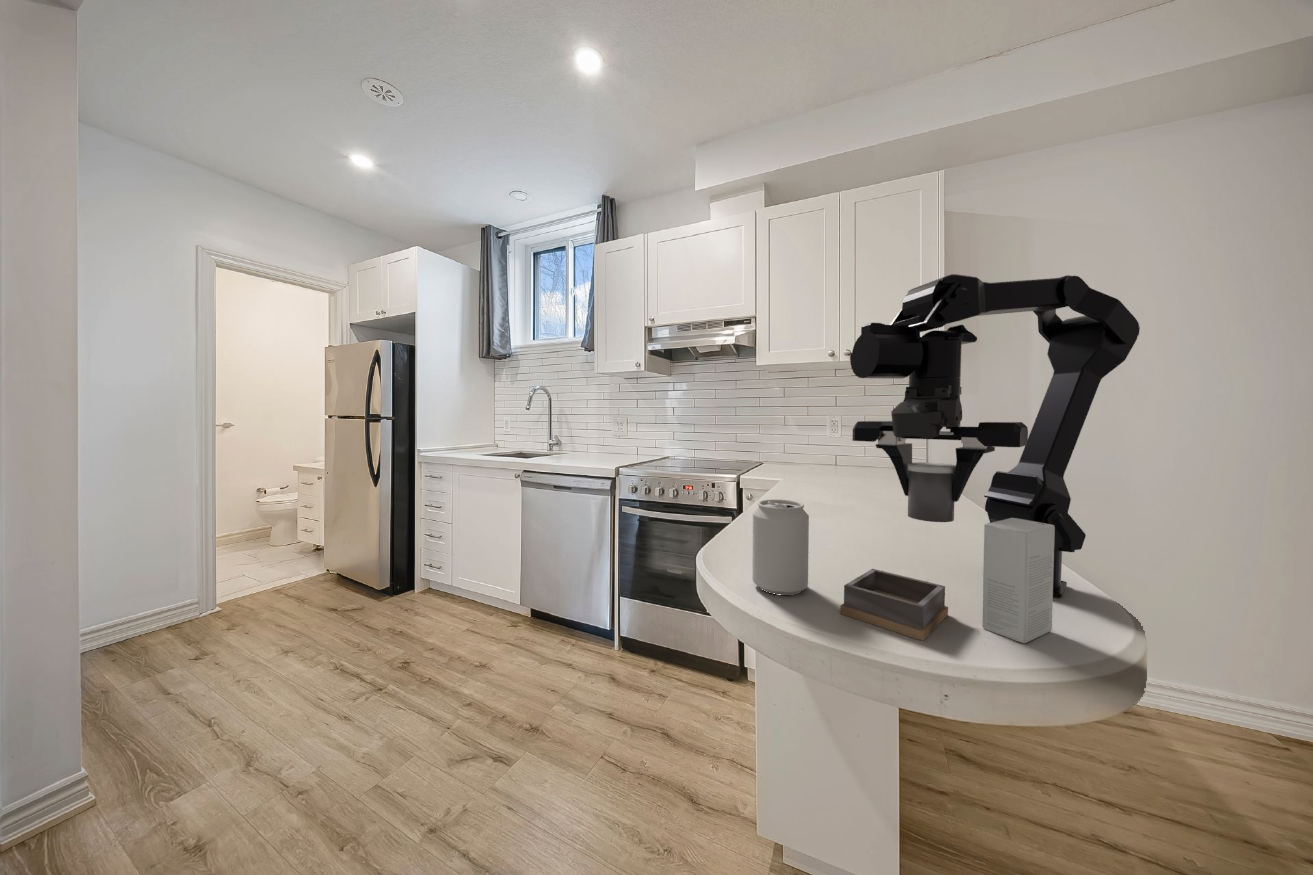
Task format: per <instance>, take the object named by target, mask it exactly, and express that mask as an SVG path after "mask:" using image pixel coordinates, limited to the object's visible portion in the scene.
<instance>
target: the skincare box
mask: <svg viewBox="0 0 1313 875" xmlns="http://www.w3.org/2000/svg"><path fill="white" fill-rule="evenodd" d="M983 528H984V531H983V532H984V534H983V538H984V539H983V567H982V568H983V569H982V570H983V571H982V572H983V573H982V574H983V575H982V578H983V580H982V621H981V625H982V628H983V629H984V630H987V631H989V632H992V633H994V634H998V635H1000V636H1002V637H1005V638H1008V639H1010V640H1013V641H1015V642H1017V641H1018V643H1020V644H1027V643H1029V642H1031V641H1032V640H1035V639H1038V638H1039V637H1041V636H1043V635H1045V634H1048V633H1050V632H1052V630H1053V609H1054V608H1053V602H1054V600H1053V599H1054V598H1053V597H1054V596H1053V568H1054V538H1055V527H1054V525H1051V524H1045V523H1040V522H1034V521H1029V520H1023V519H1017V518H1009V519H1005V520H1001V521H996V522H992V523H990V522H989V523H985V524H984V527H983Z"/></svg>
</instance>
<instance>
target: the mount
mask: <svg viewBox="0 0 1313 875" xmlns="http://www.w3.org/2000/svg"><path fill="white" fill-rule="evenodd" d="M843 587H844V588H843V603H842V604H841V605H840V606H839V607H840V608H839V611H840V612H839V614H840V615H843V616H846V617H850V618H852V619H856V620H859V621H862V622H864V623H867V624H871V625H874V626H877V627H879V628H883V629H886V630H889V631H892V632H895V633H897V634H900V635H904V636H907V637H909V638H910V637H911V638H913V639H917V640H919V641H921V642H922V641H923V642H924V641H925V640H926V639H927V638H928V636H930V635H931V634H932V632H934V630H935V629H936V628H937V627H938V626H939V625H940V624H941V623H942V622H943V621H944V620H945V619H946V618H947V617H948V616H949V606H948V605H947V606H946V605H945V602H946V585H942V584H938V583H933V582H929V581H926V580H921V579H917V578H912V577H909V576H904V575H901V574H896V573H892V572H888V571H884V570H880V569H875V568H871V569H869V570H867V571H866V572H865V573H863V574H861V575H859V576H858V577H856V578H854V579H852V580H851V581H849V582H847V583H846V584H844V585H843Z"/></svg>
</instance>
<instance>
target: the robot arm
mask: <svg viewBox="0 0 1313 875" xmlns="http://www.w3.org/2000/svg"><path fill="white" fill-rule="evenodd" d="M901 304H902V307H901V308H900V309H899V311H898V312H897V313H896V315H895V316H894V318H893V319H892V321H891V322H890V323H889V324H885V323H883V322H869V323H866V324H864V325H862V326H861V329H860V331H861V332H860V335H859V337H858V338H857V339H856V341H855V343H854V344H853V347H852V352H850V355H849V362H850V367H851V370H852V372H853V374H854V375H855V376H856V377H857V378H858V379H900V380H901V379H905V378H908V386H905V392H904V397H903V401H901V402H900V403H898V404H897V405H896V406H895V407H894V408H893V409H892V410H891V411H890V414H891V420H864V421H863V420H861V421H859V420H858V421H856V423H855V424H854V425H853V428H852V439H851V440H852V442H870V443H871V442H872V443H873V442H874V443H875V442H877V443H876V444H875V448H876V449H882V450H883V451H884V452H885V454H887V456H888V457H889V459H890V461H891V462H892V464H893V467H894V469H895V472H896V474H897V477H898V480H899V483H900V486H901V488H902V491H903V494H904V496H905V497H908V481H909V470H908V463H913V443H908V442H907V443H906V441H907V439H909V440H910V439H911V440H912V439H913V440H940V441H941V440H942V441H944V440H945V441H961V442H960V443H961V444H962V446H961V447H956V448H955V456H956V457H955V458H956V462H955V465H956V468H955V475H954V482H953V490H952V495H953V502H954V503H955V502H956V503H957V502H959V500H960V497H961V496H962V494H963V492H964V489H965V488H966V486H967V483H968V481H969V479H970V477H971V475H972V473H973V472H974V469H975V467H977V465H978V463H979V462H980V461H981V458H982V457H983V456H984V454H988V453H993V452H995V450H996V448H997V447H999V448H1022V447H1023V450H1022V454H1020V458H1019V461H1018V463H1017V465H1015V466H1014V467H1013V468H1011V469H1010V470H1009V471H1007V472H1006V471H1000V470H998V471H996V472H995V473H994V474H993V476H992V478H991V482H990V486H989V488H988V490H987V492H986V493H985V494H984V495H983V496H984V498H986V501H985V504H984V511H985V512H986V513H987V517H988V520H989V523H992V522H996V521H1001V520H1005V519H1009V518H1017V519H1023V520H1029V521H1034V522H1040V523H1045V524H1051V525H1054V527H1055V538H1054V568H1053V597H1057V598H1063V596H1064V593H1065V591H1066V589H1067V586H1068V582H1067V581H1064V580H1062V564H1063V552H1067V553H1075V552H1076V551H1079V550H1082V549H1083V546H1084V542H1085V539H1086V536H1087V535H1086V533H1085V531H1084V530H1083V529H1082V528H1081V527H1080V526H1079V524H1078V523H1077V522H1076V520H1074V519H1073V517H1072V516H1071V515H1070V514H1069V510H1070V505H1071V501H1072V498H1071V495H1070V492H1069V490H1068V487H1067V484H1066V482H1065V479H1064V477H1065V473H1066V471H1067V467H1068V466H1069V463H1070V461H1071V457H1072V455H1073V452H1074V450H1075V448H1076V445H1077V442H1078V439H1079V437H1080V434H1081V431H1082V429H1083V426H1084V424H1085V421H1086V419H1087V416H1088V413H1089V412H1090V409H1091V406H1092V403H1093V402H1094V398H1095V396H1096V393H1097V390H1098V388H1099V387H1100V386H1099V385H1100V383H1101V381H1102V380H1103V378H1104V377H1106V376H1107V375H1108V374H1109V373H1111V372H1112V371H1114V370H1115V369H1116V368H1117V367H1119V366H1120V365H1121V364H1122V363H1124V361H1125V360H1127V357H1128V355H1130V352H1131V351H1132V349H1133V348H1134V345H1135V343H1137V342H1136V341H1137V340H1138V337H1139V335H1140V330H1141V329H1140V323H1139V321H1138V320H1137V318H1136V317H1135V316H1134V315H1133V314H1132V313H1131V312H1130V310H1129V309H1128V308H1127V307H1126V306H1125V305H1124V303H1123V302H1122V301H1121V300H1119V299H1118V298H1115V297H1114V296H1111V295H1108V294H1106V293H1104V292H1101V291H1098V290H1096V289H1094V288H1091V287H1090V286H1089V285H1088V284H1087V282H1085V281H1084V279H1083V278H1081V277H1080V276H1079V275H1069V274H1067V275H1063V276H1060V277H1054V278H1052V277H1051V278H1038V279H1027V280H1026V279H1025V280H1013V281H1012V280H1010V281H998V282H987V281H982V280H981V278H980V279H979V278H978V277H977V276H972V275H971V276H970V275H964V274H958V273H957V274H955V273H951V274H948V275H945V276H943V277H940V278H938V279H934V280H932V281H930V282H927V283H923V284H922V285H919V286H916V287H913V288H911V289H909V290H908V291H907V293H906V295H904V299H903V300H902V303H901ZM1066 307H1067V308H1069V309H1071V310H1072V311H1074V312H1076V313H1078V314H1080V315H1082V316H1075V317H1071V318H1067V319H1066V318H1065V319H1064V320H1062V319H1061V317H1060V316H1059V315H1058V314H1057V310H1058V309H1063V308H1066ZM1025 312H1026V313H1027V312H1032V313H1034V314H1035V315H1036V316H1037V328H1038V330H1037V331H1038V333H1039V335H1040V336H1041V337H1042V338H1043V339H1044V340H1045V341H1046V342H1047V343H1048V344H1049V345H1048V348H1047V354H1046V355H1047V357H1048V360H1049V363H1050V364H1051V367H1052V370H1053V373H1052V376H1051V379H1050V382H1049V384H1048V386H1047V389H1046V392H1045V394H1044V397H1043V399H1042V402H1041V404H1040V407H1039V410H1038V413H1037V415H1036V417H1035V419H1034V423H1033V425H1032V426H1031V427H1032V428H1031V429H1030V433H1029V430H1028V429H1029V428H1028V426H1027V425H1026V424H1024V422H1022V421H983V422H982V421H981V422H979V423H978V426H961V421H962V420H963V407H962V401H961V395H962V386H961V380H962V379H961V377H962V375H961V374H962V372H961V371H962V345H966V344H971V343H976V342H977V341H978V337H977V336H976V335H975V334H974V333H973V332H971V331H969V330H968V329H967V328H966V327H965V325H964V324H958V325H954V326H949V327H948V328H947V329H946V330H938V328H939V329H940V328H942V327H945V326H946V325H948V324H951V323H955V322H960V321H963V320H967V319H970V318H974V317H977V316H978V317H980V316H991V315H992V316H993V315H1001V314H1002V315H1003V314H1004V315H1005V314H1013V313H1015V314H1016V313H1025ZM935 329H937V330H935ZM927 331H928V332H927ZM922 332H926V333H925V334H923V335H922V336H921V333H922ZM943 428H945V429H946V430H949V431H945V430H943V431H942V429H943Z"/></svg>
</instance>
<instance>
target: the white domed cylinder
mask: <svg viewBox="0 0 1313 875" xmlns="http://www.w3.org/2000/svg"><path fill="white" fill-rule="evenodd" d="M955 468H956V464H951V463H943V462H942V463H941V462H940V463H939V462H922V461H921V462H920V461H919V462H912V463H908V470H909V481H908V496H907V516H908V517H909V518H911V519H913V520H918V521H924V522H932V523H951V522H954V520H955V502H953V495H952V490H953V482H954V475H955Z"/></svg>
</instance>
